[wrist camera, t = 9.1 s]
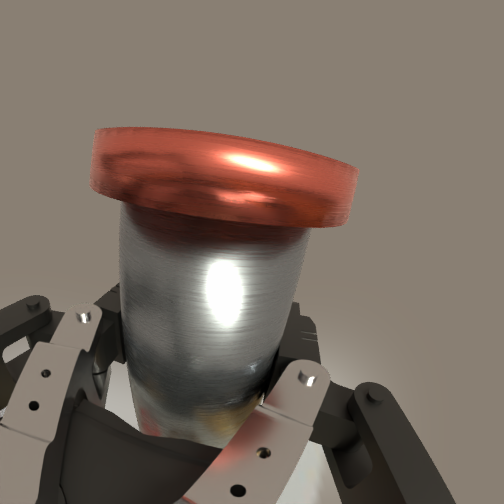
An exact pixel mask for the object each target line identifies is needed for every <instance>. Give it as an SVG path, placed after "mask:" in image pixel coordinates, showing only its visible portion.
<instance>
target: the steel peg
mask: <svg viewBox="0 0 504 504" xmlns="http://www.w3.org/2000/svg"><path fill="white" fill-rule="evenodd" d="M358 175H359V169H357V168H356V167H353V166H351V165H348V164H346V163H343V162H340V161H338V160H334V159H331V158H328V157H325V156H322V155H318V154H315V153H311V152H308V151H304V150H301V149H296V148H293V147H288V146H284V145H280V144H275V143H271V142H266V141H261V140H255V139H250V138H245V137H239V136H232V135H226V134H219V133H212V132H204V131H194V130H183V129H170V128H151V127H117V128H104V129H98V130H95V136H94V143H93V152H92V160H91V171H90V187H91V188H92V189H93V190H94V191H96V192H98V193H99V194H102V195H105V196H107V197H110V198H113V199H117V200H120V201H121V208H120V230H119V231H120V232H119V277H120V278H119V279H120V301H121V316H122V327H123V337H124V346H125V354H126V362H127V368H128V375H129V381H130V387H131V392H132V398H133V403H134V408H135V412H136V417H137V421H138V426H139V430H140V432H141V433H143V434H146V435H152V436H159V437H167V438H177V439H186V440H190V441H193V442H197V443H201V444H205V445H209V446H213V447H217V448H222V449H224V448H225V447H226V445H227V444H228V443H229V442H230V440H231V439H232V438H233V436H234V435H235V434H236V433H237V431H238V430H239V429H240V427H241V426H242V425H243V423H244V422H245V421H246V419H247V418H248V417H249V415H250V414H251V412H252V411H253V410H254V408H255V407H256V406H257V405H258V404H261V401H262V398H263V395H264V392H265V389H266V386H267V383H268V380H269V377H270V373H271V370H272V367H273V364H274V361H275V358H276V355H277V351H278V348H279V345H280V342H281V339H282V336H283V333H284V329H285V326H286V323H287V319H288V316H289V312H290V309H291V305H292V302H293V298H294V294H295V291H296V287H297V283H298V280H299V276H300V272H301V268H302V265H303V261H304V257H305V253H306V249H307V245H308V241H309V237H310V232H311V229H312V228H325V227H336V226H341V225H344V224H346V223H347V221H348V218H349V214H350V209H351V206H352V202H353V197H354V193H355V189H356V184H357V180H358Z"/></svg>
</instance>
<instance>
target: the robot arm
mask: <svg viewBox="0 0 504 504" xmlns="http://www.w3.org/2000/svg"><path fill="white" fill-rule="evenodd" d="M25 336H26V338H27V341H28V344H29V347H30V349H29V350H27V351H26V352H24V353H23V354H21V355H19V356H17V357H16V358H14V359H13V360H11V361H9V362H8V363H4V360H3V358H2V353H3V350H4V349H5V348H6V347H7V346H9V345H11V344H13V343H14V342H16V341H18V340H20V339H21V338H23V337H25ZM113 361H117V362H119V363H122V364H125V362H126V354H125V346H124V337H123V327H122V316H121V301H120V282H119V283H118V284H117V285H116V286H115V287H113V288H112V289H111V290H110V291H108V292H107V293H106V294H105V295H103V296H102V297H101V298H100V299H99V300H98V301H96V302H95V303H94V304H90V303H79V304H75V305H73V306H71V307H70V308H68V309H67V311H66V312H65V313H64V312H58V311H52V310H51V308H50V303H49V300H48V299H47V298H46V297H44V296H40V295H33V296H29V297H26V298H24V299H22V300H20V301H18V302H16V303H14V304H11V305H9V306H7V307H5V308H3V309H1V310H0V411H1V410H2V409H3V408H5V407H6V406H7V408H6V411H5V413H4V416H3V417H1V418H0V504H276V502H277V500H278V498H279V497H280V495H281V493H282V491H283V490H284V488H285V486H286V484H287V482H288V480H289V479H290V477H291V475H292V473H293V471H294V469H295V467H296V465H297V463H298V461H299V459H300V457H301V455H302V453H303V451H304V449H305V446H306V444H307V442H308V440H309V441H312V442H315V443H318V444H321V445H322V447H323V450H324V453H325V456H326V459H327V462H328V464H329V467H330V470H331V473H332V476H333V479H334V482H335V485H336V487H337V490H338V493H339V496H340V499H341V502H342V504H456V503H455V501H454V499H453V497H452V495H451V494H450V492H449V490H448V488H447V486H446V484H445V483H444V481H443V479H442V477H441V475H440V474H439V472H438V470H437V468H436V466H435V465H434V463H433V461H432V459H431V458H430V456H429V454H428V452H427V451H426V449H425V447H424V446H423V444H422V442H421V441H420V439H419V437H418V436H417V434H416V432H415V431H414V429H413V427H412V426H411V424H410V422H409V421H408V419H407V418H406V416H405V414H404V413H403V411H402V409H401V408H400V406H399V405H398V403H397V402H396V400H395V398H394V397H393V395H392V394H391V392H390V391H389V390H388V389H387V388H385V387H384V386H382V385H380V384H377V383H373V382H365V383H361V384H360V385H358V386H357V387H356V389H355V390H352V389H348V388H346V387H343V386H340V385H337V384H336V383H333V382H332V381H331V380H330V374H329V372H328V371H327V370H326V369H325V368H324V367H323V366H322V365H321V361H320V354H319V347H318V342H317V335H316V326H315V324H314V323H313V321H312V320H311V319H310V317H307V316H301V315H300V308H299V303H297V302H292V305H291V309H290V312H289V316H288V319H287V323H286V326H285V329H284V333H283V336H282V339H281V342H280V345H279V348H278V351H277V355H276V358H275V361H274V364H273V367H272V370H271V373H270V377H269V380H268V383H267V386H266V389H265V392H264V399H263V404H262V405H260V404H258V405H257V406H256V407H255V408H254V410H253V411H252V412H251V414H250V415H249V417H248V418H247V419H246V421H245V422H244V423H243V425H242V426H241V427H240V429H239V430H238V431H237V433H236V434H235V435H234V436H233V438H232V439H231V440H230V442H229V443H228V444H227V445H226V447H225V448H224V449H222V448H217V447H213V446H209V445H205V444H201V443H197V442H193V441H190V440H186V439H177V438H167V437H159V436H152V435H146V434H143V433H141V432H139V431H138V430H137V429H135V428H134V427H132V426H131V425H129V424H128V423H126V422H125V421H124V420H122V419H121V418H119V417H118V416H117V415H115V414H114V413H112V412H110V411H108V410H106V409H105V403H106V397H107V391H108V386H109V380H110V375H111V366H110V365H111V363H112V362H113Z"/></svg>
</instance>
